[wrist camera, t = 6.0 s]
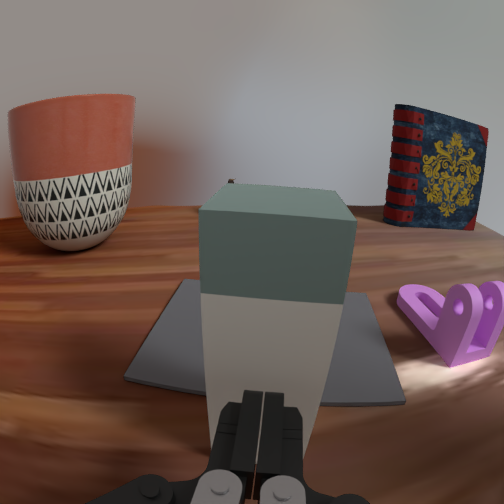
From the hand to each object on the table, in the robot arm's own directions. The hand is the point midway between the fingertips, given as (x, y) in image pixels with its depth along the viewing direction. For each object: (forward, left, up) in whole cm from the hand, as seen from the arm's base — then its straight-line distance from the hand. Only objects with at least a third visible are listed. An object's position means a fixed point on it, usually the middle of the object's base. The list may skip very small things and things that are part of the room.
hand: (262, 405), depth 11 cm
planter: (+30, -30, -7) cm, 43 cm away
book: (-34, -58, -7) cm, 67 cm away
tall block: (0, -4, -7) cm, 8 cm away
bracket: (-17, -17, -7) cm, 25 cm away
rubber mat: (0, -14, -7) cm, 16 cm away
